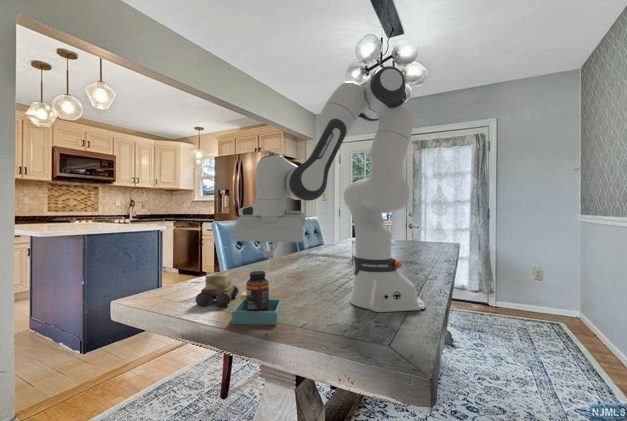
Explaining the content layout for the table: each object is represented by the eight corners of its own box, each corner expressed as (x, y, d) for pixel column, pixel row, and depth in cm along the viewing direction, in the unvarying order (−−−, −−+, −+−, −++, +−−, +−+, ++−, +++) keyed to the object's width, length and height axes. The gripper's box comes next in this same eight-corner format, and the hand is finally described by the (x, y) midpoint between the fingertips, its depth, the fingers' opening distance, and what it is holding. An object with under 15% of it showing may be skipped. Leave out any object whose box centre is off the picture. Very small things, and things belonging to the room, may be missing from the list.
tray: (281, 310, 87) (282, 299, 87) (276, 324, 76) (277, 312, 76) (242, 309, 87) (243, 298, 87) (232, 324, 76) (232, 311, 76)
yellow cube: (256, 304, 92) (257, 291, 92) (254, 309, 88) (254, 295, 88) (243, 304, 92) (243, 291, 92) (240, 308, 88) (240, 295, 88)
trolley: (238, 296, 99) (238, 271, 99) (229, 306, 89) (229, 278, 89) (208, 296, 100) (208, 270, 100) (195, 306, 89) (195, 277, 89)
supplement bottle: (271, 311, 84) (271, 270, 84) (265, 318, 78) (265, 274, 78) (249, 310, 85) (250, 269, 85) (242, 317, 79) (243, 274, 79)
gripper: (305, 210, 93) (304, 256, 93) (238, 209, 93) (238, 254, 93) (304, 210, 86) (304, 259, 86) (233, 209, 87) (232, 257, 87)
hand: (269, 257), depth 90 cm, fingers closed
